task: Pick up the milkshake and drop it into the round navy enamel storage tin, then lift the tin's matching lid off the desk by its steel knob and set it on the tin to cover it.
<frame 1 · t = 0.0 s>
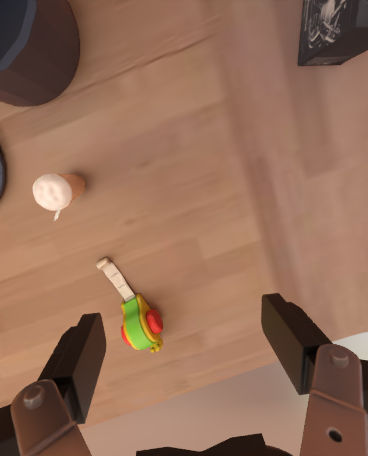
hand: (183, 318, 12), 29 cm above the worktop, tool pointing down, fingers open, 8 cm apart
toy measuring tape: (133, 300, 45), on the worktop
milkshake: (76, 187, 38), on the worktop
tin: (14, 36, 32), on the worktop
small box: (323, 13, 34), on the worktop
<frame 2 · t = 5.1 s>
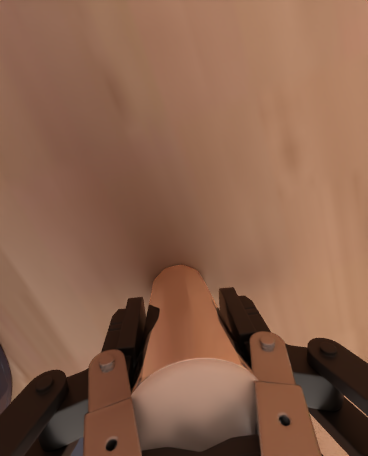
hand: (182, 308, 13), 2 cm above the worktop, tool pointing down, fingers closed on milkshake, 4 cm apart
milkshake: (185, 284, 15), on the worktop, touching gripper
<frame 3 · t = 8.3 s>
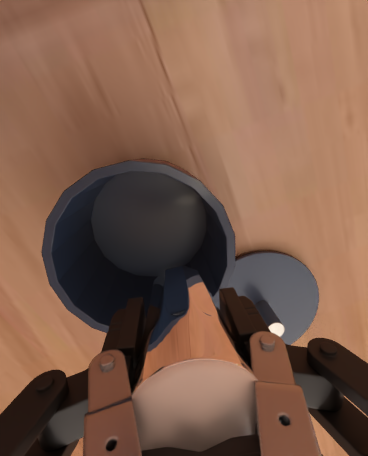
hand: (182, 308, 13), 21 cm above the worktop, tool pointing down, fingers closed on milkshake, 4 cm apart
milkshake: (185, 285, 15), point 18 cm above the worktop, touching gripper
tin lid: (259, 305, 37), point 1 cm above the worktop
tin: (150, 223, 33), on the worktop
when the fingers open (7 cm above the worktop, at t = 11.9 s): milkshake drops 4 cm, resting on tin.
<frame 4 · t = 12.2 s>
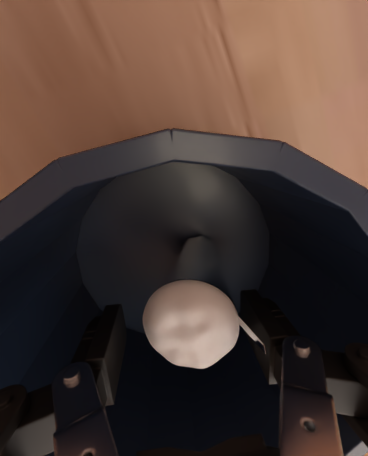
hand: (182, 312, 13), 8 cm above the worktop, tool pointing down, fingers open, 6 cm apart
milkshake: (204, 253, 19), point 1 cm above the worktop, touching tin
tin: (175, 255, 20), on the worktop
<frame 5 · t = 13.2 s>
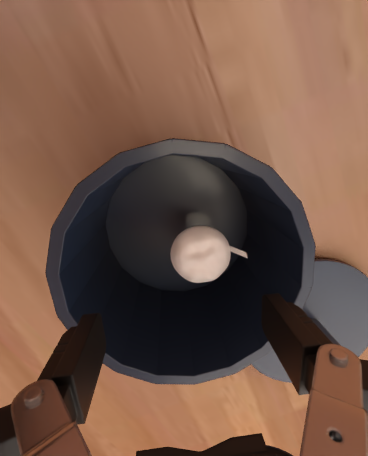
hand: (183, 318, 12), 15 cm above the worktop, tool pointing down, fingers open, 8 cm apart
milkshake: (198, 224, 27), resting on tin
tin lid: (307, 323, 31), point 1 cm above the worktop
tin: (177, 227, 27), on the worktop
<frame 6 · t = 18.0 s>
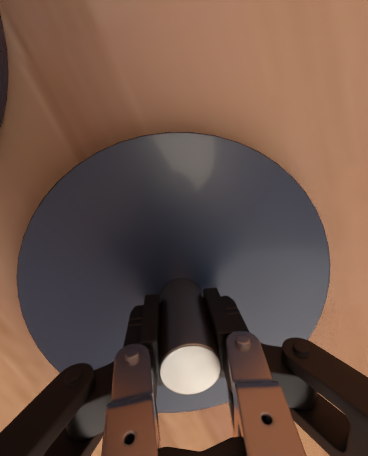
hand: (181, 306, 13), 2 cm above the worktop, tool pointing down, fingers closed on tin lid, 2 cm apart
tin lid: (180, 291, 15), point 1 cm above the worktop, touching gripper
when the fingers open (13 cm above the worktop, at t = 24.9 s): tin lid stays where it is, resting on tin.
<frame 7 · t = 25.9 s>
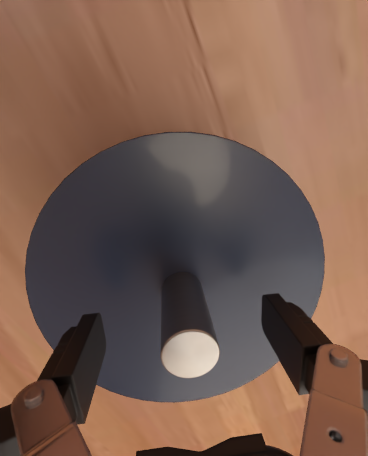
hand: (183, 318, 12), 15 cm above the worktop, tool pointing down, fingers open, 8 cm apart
tin lid: (181, 284, 15), point 12 cm above the worktop, touching tin
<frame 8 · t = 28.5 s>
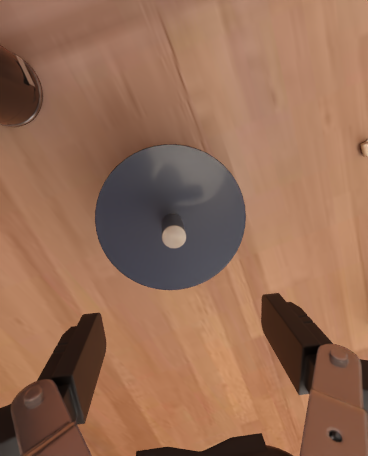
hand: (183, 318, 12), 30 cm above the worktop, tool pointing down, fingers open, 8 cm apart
tin lid: (172, 222, 29), point 12 cm above the worktop, touching tin
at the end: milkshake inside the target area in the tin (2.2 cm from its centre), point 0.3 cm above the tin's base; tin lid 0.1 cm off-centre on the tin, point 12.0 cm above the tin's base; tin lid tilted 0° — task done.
